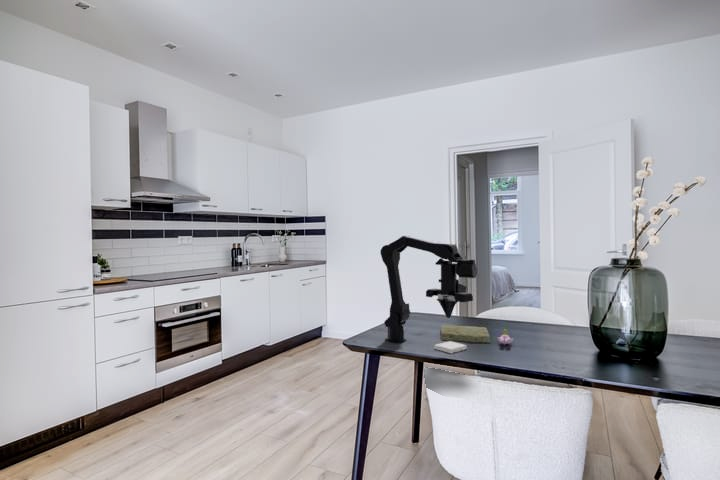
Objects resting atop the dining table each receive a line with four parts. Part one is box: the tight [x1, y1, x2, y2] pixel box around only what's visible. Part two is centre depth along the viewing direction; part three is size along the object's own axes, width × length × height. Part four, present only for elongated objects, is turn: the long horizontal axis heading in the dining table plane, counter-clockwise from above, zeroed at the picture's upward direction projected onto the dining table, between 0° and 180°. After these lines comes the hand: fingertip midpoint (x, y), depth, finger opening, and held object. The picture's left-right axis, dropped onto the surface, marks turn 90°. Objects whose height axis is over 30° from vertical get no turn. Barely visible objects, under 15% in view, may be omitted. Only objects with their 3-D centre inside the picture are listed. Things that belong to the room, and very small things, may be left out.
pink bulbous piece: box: [497, 328, 515, 345], centre depth 164 cm, size 6×6×15 cm
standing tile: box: [434, 340, 468, 354], centre depth 157 cm, size 2×9×8 cm
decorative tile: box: [440, 324, 491, 344], centre depth 176 cm, size 19×20×4 cm
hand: (448, 317), depth 157 cm, fingers closed
